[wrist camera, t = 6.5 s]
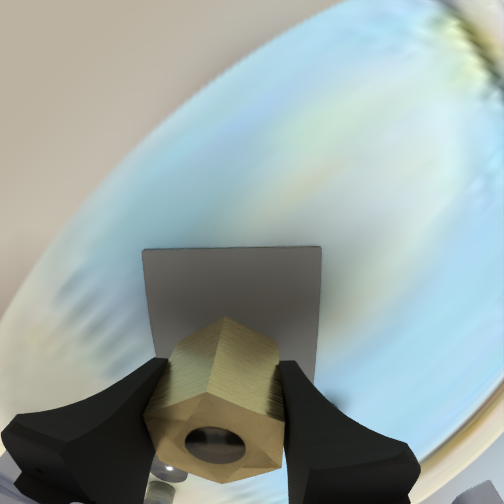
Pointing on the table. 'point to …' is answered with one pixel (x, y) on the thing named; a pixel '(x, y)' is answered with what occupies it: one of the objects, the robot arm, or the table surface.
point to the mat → (236, 295)
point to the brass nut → (220, 404)
